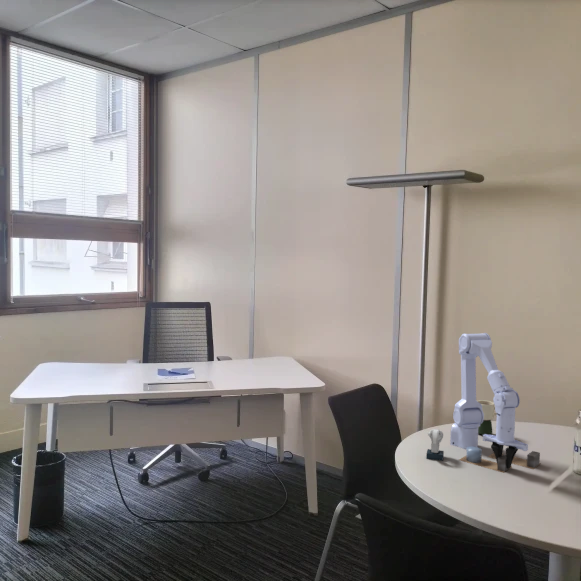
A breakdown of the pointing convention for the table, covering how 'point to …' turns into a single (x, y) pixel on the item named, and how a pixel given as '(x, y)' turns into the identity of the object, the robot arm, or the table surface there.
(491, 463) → the strip
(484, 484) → the table surface
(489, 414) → the character mug
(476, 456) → the blue-grey rounded block
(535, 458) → the strip empty
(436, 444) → the white figurine on base
